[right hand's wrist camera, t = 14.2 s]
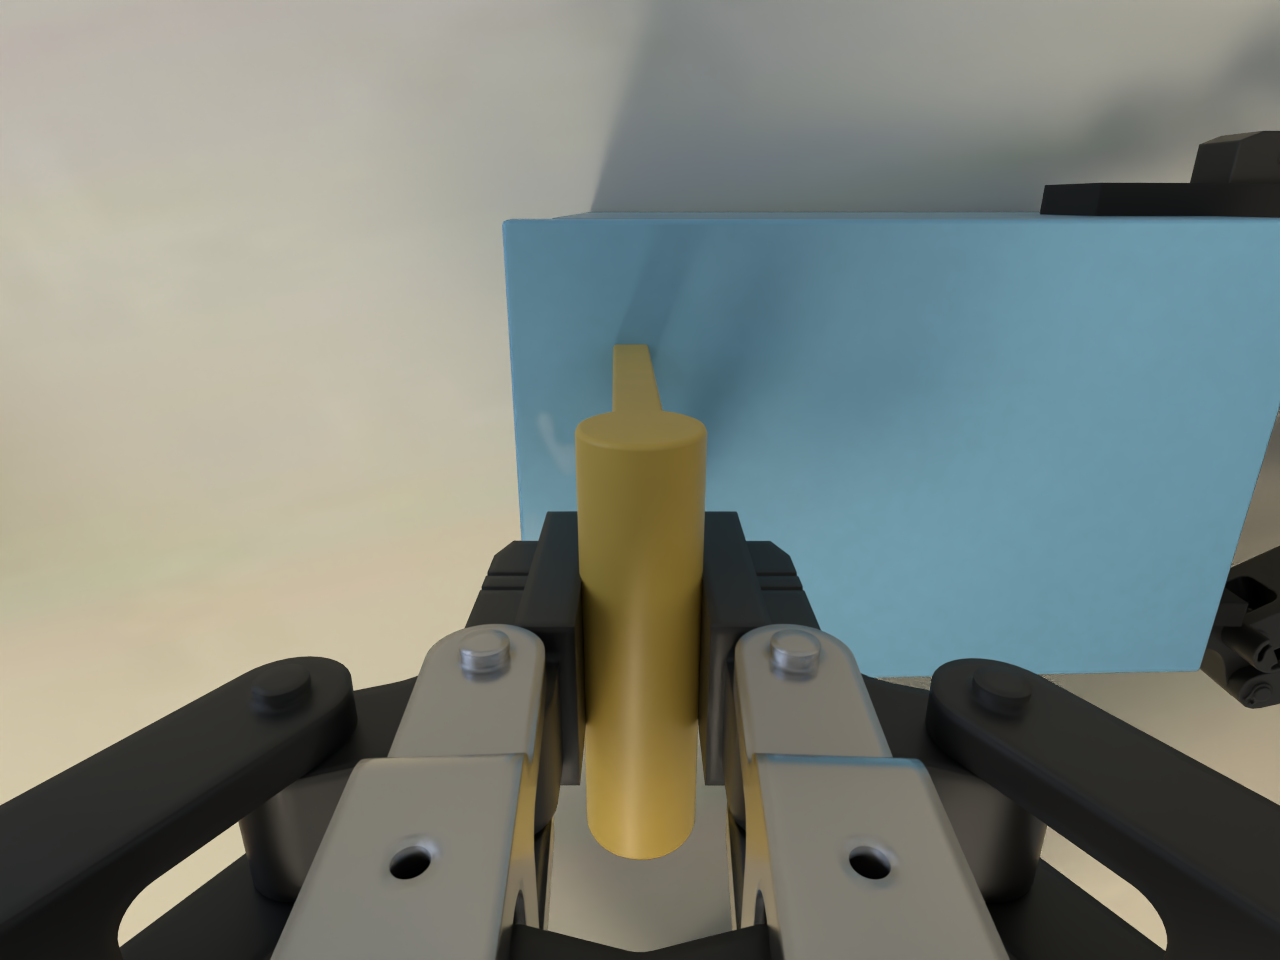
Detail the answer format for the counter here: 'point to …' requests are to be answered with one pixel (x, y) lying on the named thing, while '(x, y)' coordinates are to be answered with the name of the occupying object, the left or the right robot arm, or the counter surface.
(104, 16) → the counter surface
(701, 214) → the chest
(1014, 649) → the lid
